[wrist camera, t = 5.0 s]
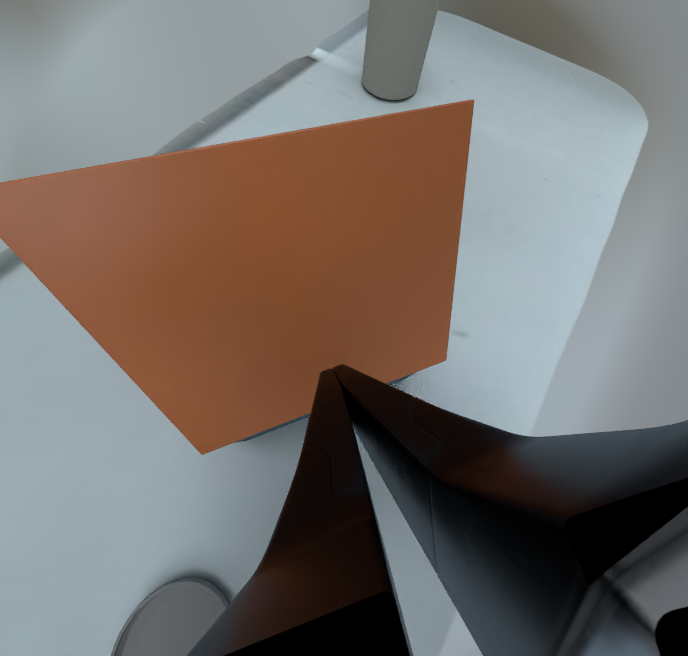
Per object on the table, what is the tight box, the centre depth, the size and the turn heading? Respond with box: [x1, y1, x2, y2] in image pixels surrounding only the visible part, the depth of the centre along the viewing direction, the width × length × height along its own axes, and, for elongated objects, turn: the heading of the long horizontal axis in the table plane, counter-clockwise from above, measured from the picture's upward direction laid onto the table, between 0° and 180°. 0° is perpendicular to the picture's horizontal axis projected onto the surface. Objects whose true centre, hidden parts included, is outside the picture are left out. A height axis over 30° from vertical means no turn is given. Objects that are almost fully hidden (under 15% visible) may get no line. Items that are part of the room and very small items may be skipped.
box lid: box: [0, 100, 474, 455], centre depth 10 cm, size 11×14×1 cm
